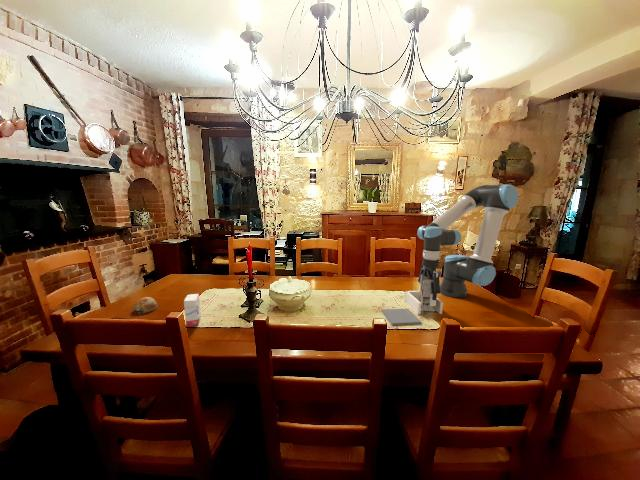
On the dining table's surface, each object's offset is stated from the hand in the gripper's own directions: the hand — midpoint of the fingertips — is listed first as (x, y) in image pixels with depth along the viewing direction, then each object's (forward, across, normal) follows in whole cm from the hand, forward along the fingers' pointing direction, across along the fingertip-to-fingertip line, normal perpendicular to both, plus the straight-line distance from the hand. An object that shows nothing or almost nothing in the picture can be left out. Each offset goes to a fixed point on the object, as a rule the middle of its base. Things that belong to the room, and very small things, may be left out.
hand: (427, 301), depth 133 cm
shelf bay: (+5, -4, 0) cm, 7 cm away
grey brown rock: (+5, -12, -140) cm, 141 cm away
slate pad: (+5, +6, -16) cm, 18 cm away
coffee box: (+4, 0, 0) cm, 4 cm away
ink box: (+5, +3, -112) cm, 112 cm away
